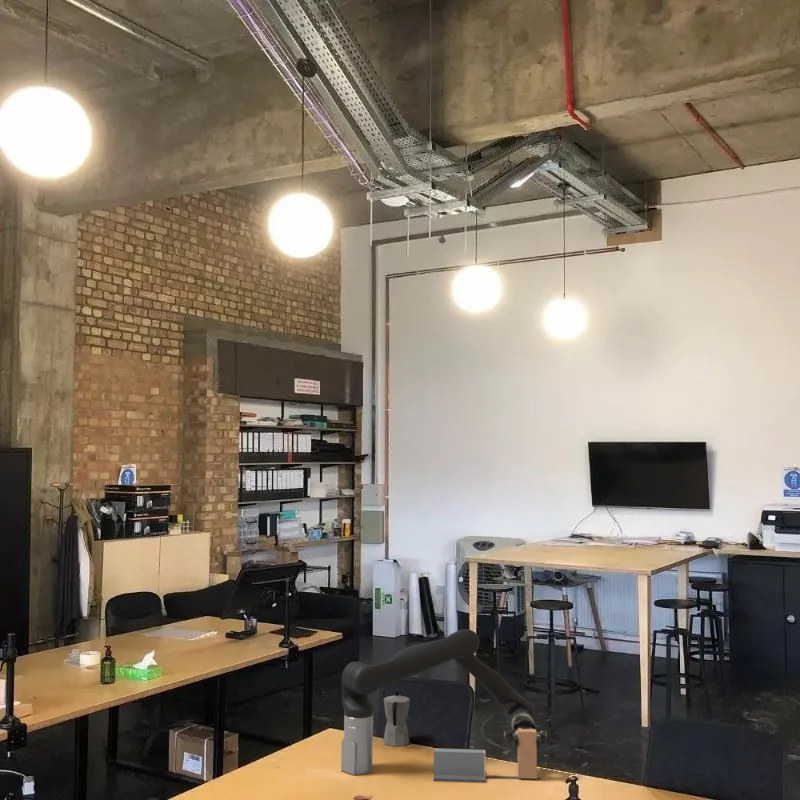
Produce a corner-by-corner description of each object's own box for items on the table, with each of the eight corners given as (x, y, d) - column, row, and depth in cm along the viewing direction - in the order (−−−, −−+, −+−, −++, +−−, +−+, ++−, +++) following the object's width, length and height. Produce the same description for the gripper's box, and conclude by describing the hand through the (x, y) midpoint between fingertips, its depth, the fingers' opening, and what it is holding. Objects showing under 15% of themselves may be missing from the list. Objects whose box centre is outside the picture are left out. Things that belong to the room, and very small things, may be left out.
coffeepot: (385, 736, 309) (385, 685, 311) (411, 737, 308) (411, 686, 310) (380, 750, 294) (380, 696, 295) (407, 751, 293) (407, 697, 294)
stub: (518, 777, 267) (518, 731, 268) (517, 774, 270) (517, 728, 271) (536, 778, 266) (536, 732, 267) (535, 775, 269) (535, 729, 270)
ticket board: (433, 781, 265) (433, 755, 265) (434, 769, 275) (434, 744, 275) (542, 784, 263) (542, 758, 263) (539, 773, 273) (539, 748, 273)
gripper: (501, 714, 284) (504, 730, 267) (545, 716, 283) (551, 731, 266) (501, 738, 283) (504, 754, 266) (545, 739, 282) (551, 756, 266)
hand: (527, 743), depth 266 cm, fingers closed on stub, 5 cm apart
